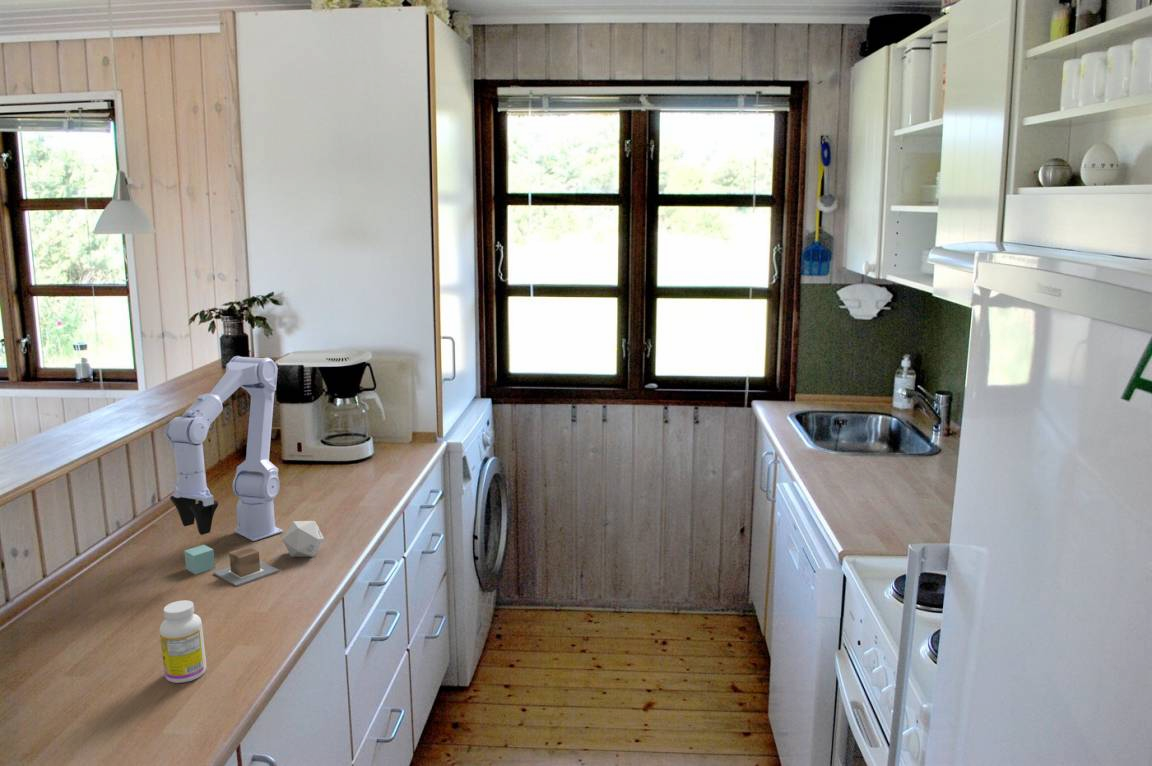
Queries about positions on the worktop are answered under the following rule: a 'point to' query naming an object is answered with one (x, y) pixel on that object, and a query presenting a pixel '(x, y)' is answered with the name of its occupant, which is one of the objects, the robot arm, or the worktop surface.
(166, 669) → the supplement bottle
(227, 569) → the grey square plate
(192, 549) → the teal block
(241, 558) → the walnut block
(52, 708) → the worktop surface
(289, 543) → the die
